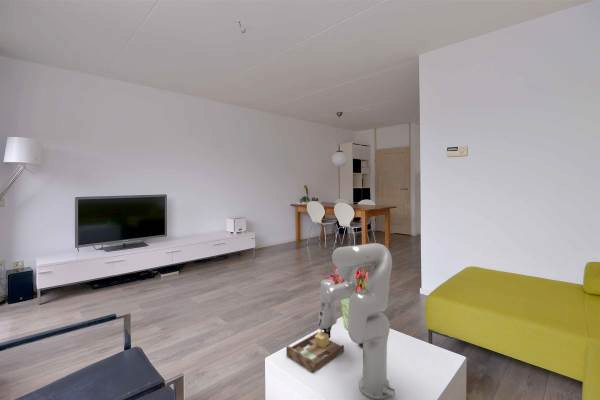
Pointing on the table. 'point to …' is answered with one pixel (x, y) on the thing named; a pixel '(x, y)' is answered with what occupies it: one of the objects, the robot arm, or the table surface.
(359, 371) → the table surface
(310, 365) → the box
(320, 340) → the block
